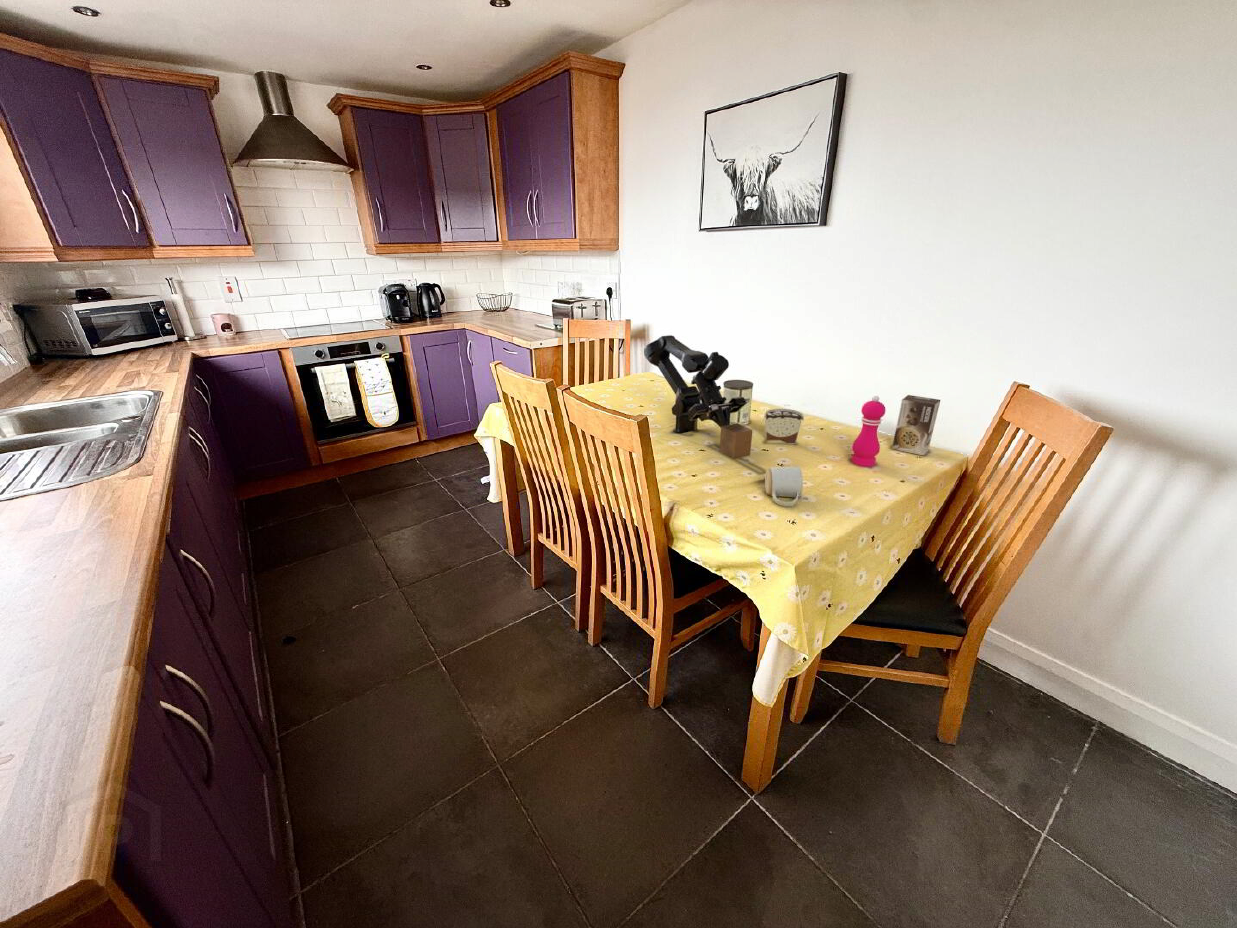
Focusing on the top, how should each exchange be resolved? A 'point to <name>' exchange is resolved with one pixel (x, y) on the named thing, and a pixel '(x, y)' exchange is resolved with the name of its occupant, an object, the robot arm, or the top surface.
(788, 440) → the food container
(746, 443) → the walnut slider
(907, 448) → the coffee box
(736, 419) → the coffee can
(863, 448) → the pepper mill
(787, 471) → the ceramic mug
